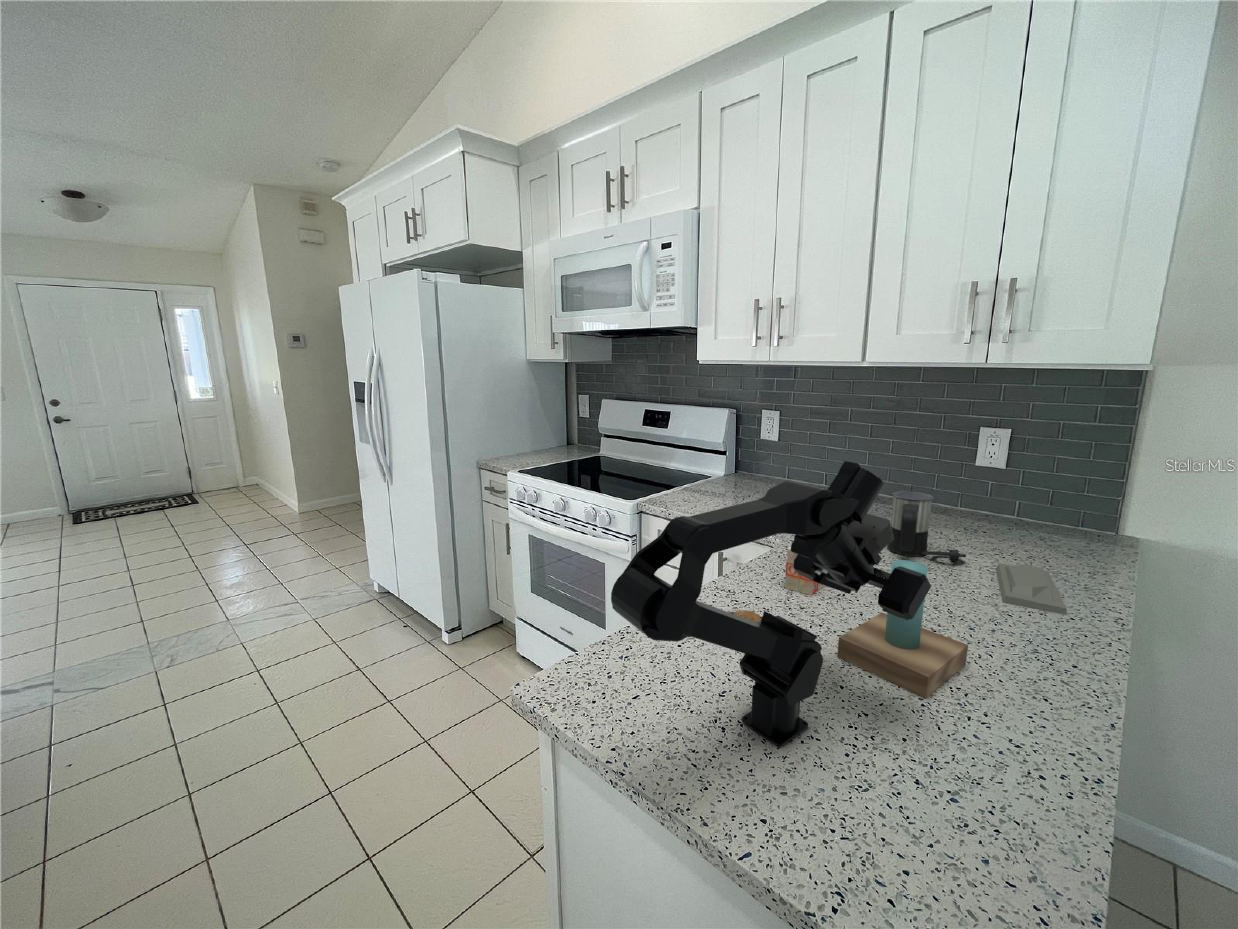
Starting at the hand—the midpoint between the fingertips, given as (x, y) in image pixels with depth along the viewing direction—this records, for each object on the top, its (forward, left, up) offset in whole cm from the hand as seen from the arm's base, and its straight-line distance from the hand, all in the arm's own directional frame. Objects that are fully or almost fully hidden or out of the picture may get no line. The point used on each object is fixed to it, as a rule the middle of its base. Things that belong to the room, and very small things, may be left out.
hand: (877, 602), depth 80 cm
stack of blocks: (+27, +27, -13) cm, 41 cm away
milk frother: (+60, +18, -13) cm, 64 cm away
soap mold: (+56, -4, -13) cm, 58 cm away
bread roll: (-4, +21, -13) cm, 26 cm away
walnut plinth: (+8, -1, -12) cm, 15 cm away
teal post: (+8, -1, -9) cm, 12 cm away
